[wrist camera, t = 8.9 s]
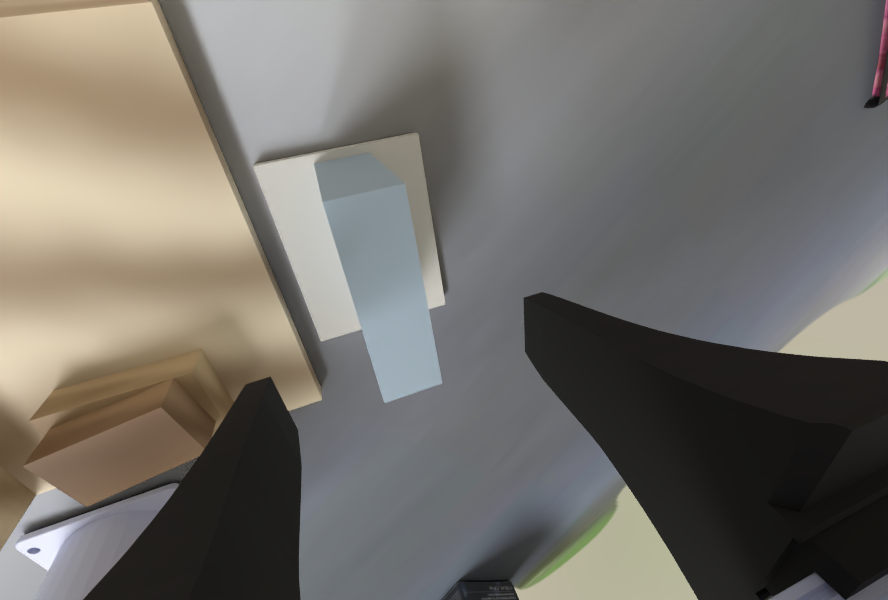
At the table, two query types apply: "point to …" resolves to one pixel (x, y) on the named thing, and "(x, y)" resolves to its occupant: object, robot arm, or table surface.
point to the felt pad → (310, 234)
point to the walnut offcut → (123, 443)
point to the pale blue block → (381, 270)
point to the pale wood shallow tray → (118, 224)
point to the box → (482, 591)
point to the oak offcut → (137, 390)
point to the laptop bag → (881, 69)
